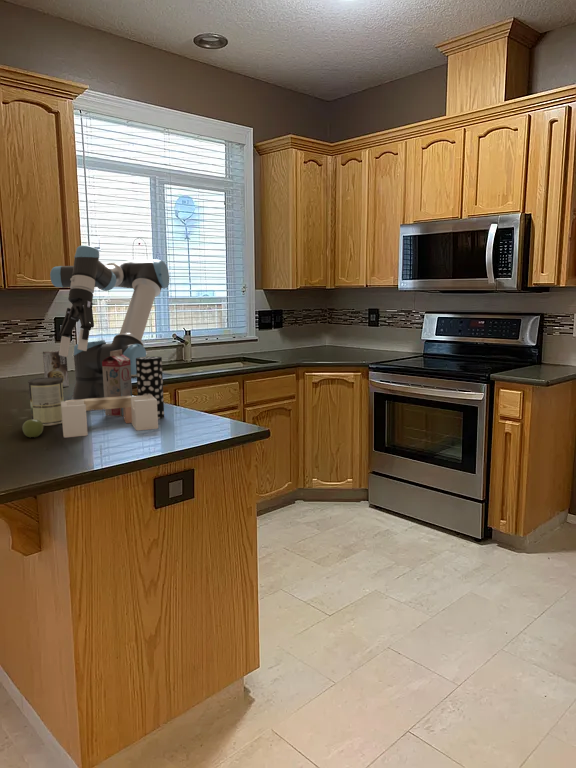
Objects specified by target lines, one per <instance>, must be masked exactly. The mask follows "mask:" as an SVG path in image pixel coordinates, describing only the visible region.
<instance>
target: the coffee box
mask: <svg viewBox="0 0 576 768" xmlns="http://www.w3.org/2000/svg"><path fill="white" fill-rule="evenodd" d="M42 357H43V358H42V359H43V369H44V371H43V372H44V378H47V377H58V378H63V381H62V382H63V388H65V387H69V386H70V383H69V372H68V359H67V358H68V357H64V356H60V355H59V350H49V351H48V350H47V351H42Z"/></svg>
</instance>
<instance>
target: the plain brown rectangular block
mask: <svg viewBox="0 0 576 768" xmlns="http://www.w3.org/2000/svg"><path fill="white" fill-rule="evenodd" d="M123 412H124V416H123V421H124V422H125V423H126V424H132V413H131V407H126V408H123Z"/></svg>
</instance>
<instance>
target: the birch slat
mask: <svg viewBox="0 0 576 768" xmlns="http://www.w3.org/2000/svg"><path fill="white" fill-rule="evenodd" d="M78 400H84V404H85V405H86V412H87V411H100V410H105V409H114V408H126V407H131V396H118V397H105V398H91V399H78ZM65 401H75V400H72V399H69V400H67V399H66V400H65Z"/></svg>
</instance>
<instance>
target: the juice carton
mask: <svg viewBox="0 0 576 768" xmlns="http://www.w3.org/2000/svg"><path fill="white" fill-rule="evenodd" d="M102 367H103V384H104V398H105V397H118V396H133V387H132V386H133V385H132V377H131V363H130V359H129V358H128V357H126V356H124V355H123V354H122V350H115V351H110V357H108V358H106V359H104V360H103V361H102ZM104 414H105V416H106V417H107V416H111V417H124V412H123V408H114V409H104Z"/></svg>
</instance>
